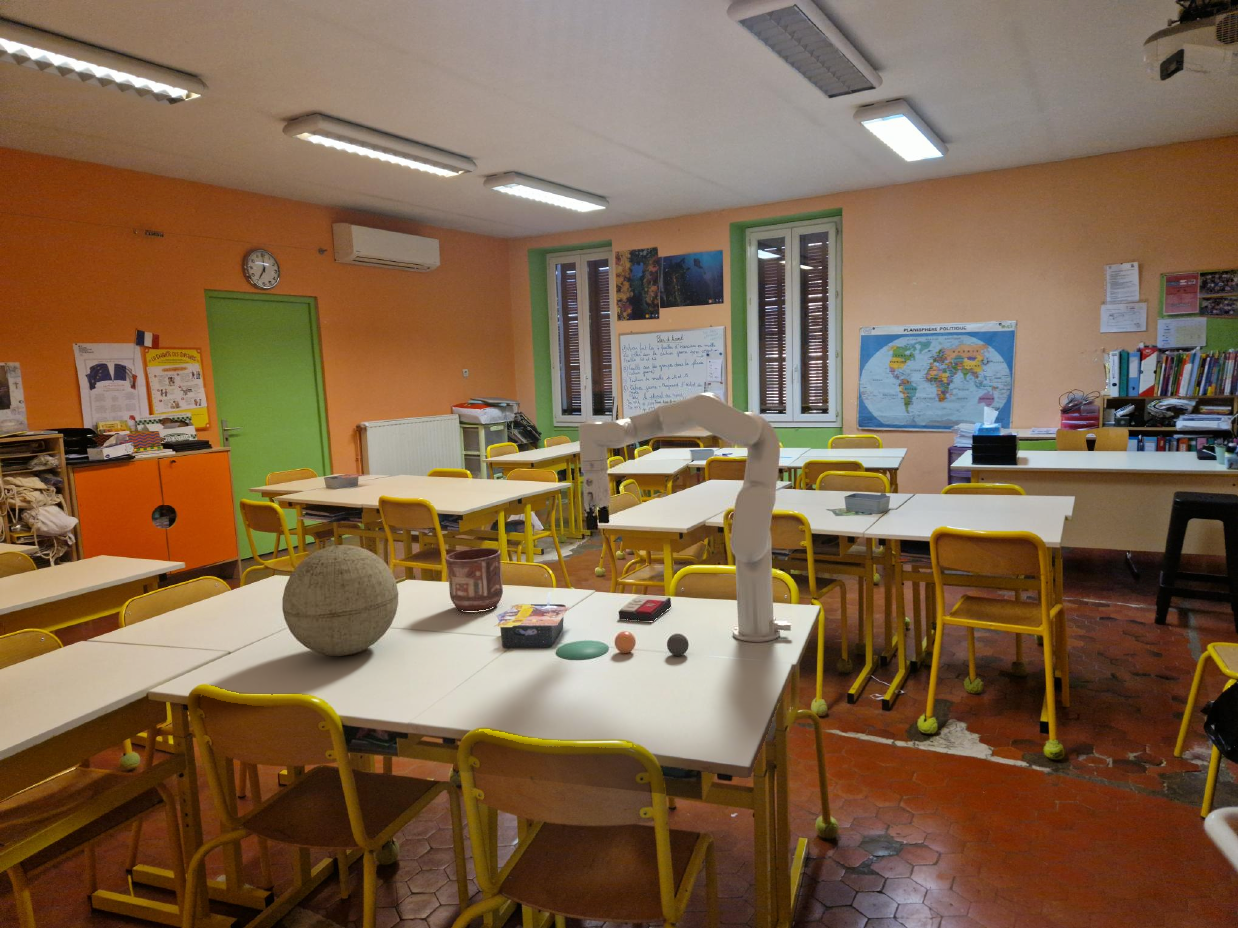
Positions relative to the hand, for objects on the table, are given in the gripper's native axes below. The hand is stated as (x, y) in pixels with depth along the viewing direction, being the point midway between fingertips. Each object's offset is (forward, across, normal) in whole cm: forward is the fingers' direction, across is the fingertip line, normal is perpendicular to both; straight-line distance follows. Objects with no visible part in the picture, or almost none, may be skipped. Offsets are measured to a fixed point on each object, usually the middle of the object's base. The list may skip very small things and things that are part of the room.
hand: (598, 526), depth 212 cm
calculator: (+31, +16, -8) cm, 36 cm away
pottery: (+30, +16, +49) cm, 60 cm away
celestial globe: (+30, -28, +66) cm, 78 cm away
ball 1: (+27, -17, -11) cm, 34 cm away
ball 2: (+27, -17, -25) cm, 41 cm away
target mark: (+30, -17, +1) cm, 34 cm away
